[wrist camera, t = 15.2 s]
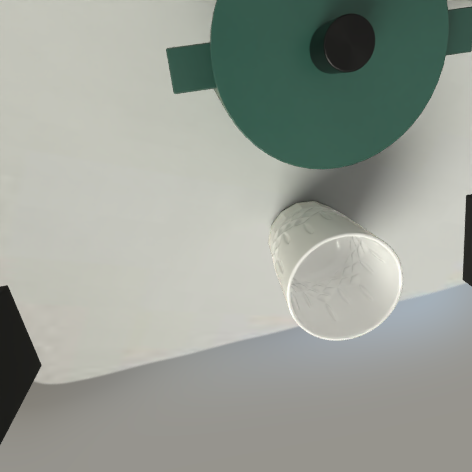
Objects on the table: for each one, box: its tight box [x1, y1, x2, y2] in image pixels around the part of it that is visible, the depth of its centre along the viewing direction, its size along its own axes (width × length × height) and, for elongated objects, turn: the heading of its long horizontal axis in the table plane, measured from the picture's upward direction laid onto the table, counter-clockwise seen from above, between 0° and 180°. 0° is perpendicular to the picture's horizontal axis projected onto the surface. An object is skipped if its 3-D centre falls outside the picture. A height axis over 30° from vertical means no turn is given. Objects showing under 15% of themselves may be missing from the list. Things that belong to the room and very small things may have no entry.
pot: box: [166, 7, 472, 118], centre depth 27 cm, size 12×18×9 cm
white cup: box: [268, 201, 403, 340], centre depth 32 cm, size 8×8×10 cm
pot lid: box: [210, 0, 449, 169], centre depth 22 cm, size 13×13×4 cm
